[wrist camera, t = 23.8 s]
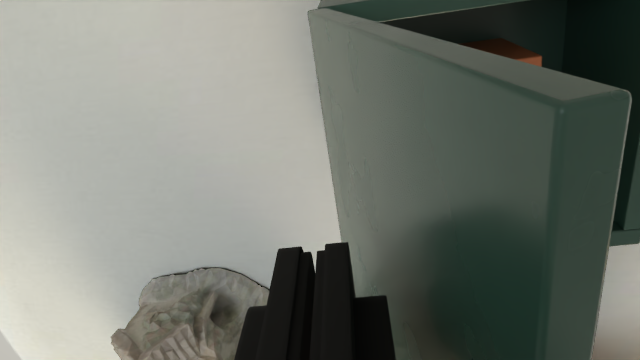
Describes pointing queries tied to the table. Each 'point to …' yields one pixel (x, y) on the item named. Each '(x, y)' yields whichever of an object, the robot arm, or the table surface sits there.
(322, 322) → the robot arm
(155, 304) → the ceramic cottage
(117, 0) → the table surface
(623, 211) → the tin
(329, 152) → the lid
